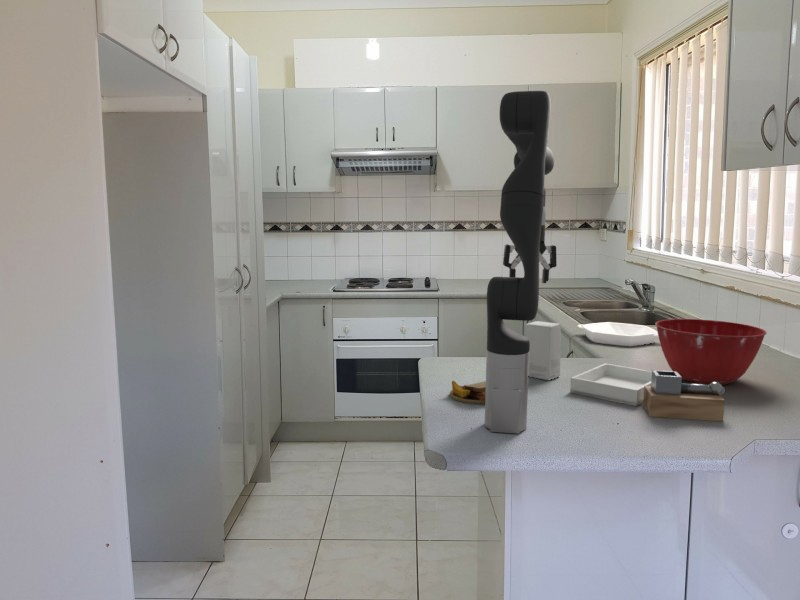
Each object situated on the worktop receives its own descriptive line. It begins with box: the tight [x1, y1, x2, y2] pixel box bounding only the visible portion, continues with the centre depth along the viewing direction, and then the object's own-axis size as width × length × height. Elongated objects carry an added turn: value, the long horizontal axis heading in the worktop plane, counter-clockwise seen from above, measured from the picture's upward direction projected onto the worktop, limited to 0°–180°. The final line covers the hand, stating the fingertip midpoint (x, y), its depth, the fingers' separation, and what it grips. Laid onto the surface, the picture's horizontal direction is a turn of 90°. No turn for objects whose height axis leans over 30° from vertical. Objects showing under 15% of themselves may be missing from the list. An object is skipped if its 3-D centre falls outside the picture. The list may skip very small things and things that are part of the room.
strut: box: [651, 369, 726, 396], centre depth 156 cm, size 6×16×4 cm, turn 79°
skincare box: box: [524, 320, 562, 381], centre depth 188 cm, size 8×7×16 cm
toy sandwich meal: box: [449, 380, 486, 404], centre depth 167 cm, size 12×14×5 cm
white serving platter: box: [577, 321, 659, 347], centre depth 243 cm, size 31×25×4 cm
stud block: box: [642, 386, 726, 422], centre depth 156 cm, size 9×16×8 cm, turn 79°
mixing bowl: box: [655, 318, 768, 386], centre depth 187 cm, size 28×28×16 cm
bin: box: [569, 362, 652, 407], centre depth 175 cm, size 22×18×4 cm
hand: (528, 282), depth 181 cm, fingers open, 8 cm apart
